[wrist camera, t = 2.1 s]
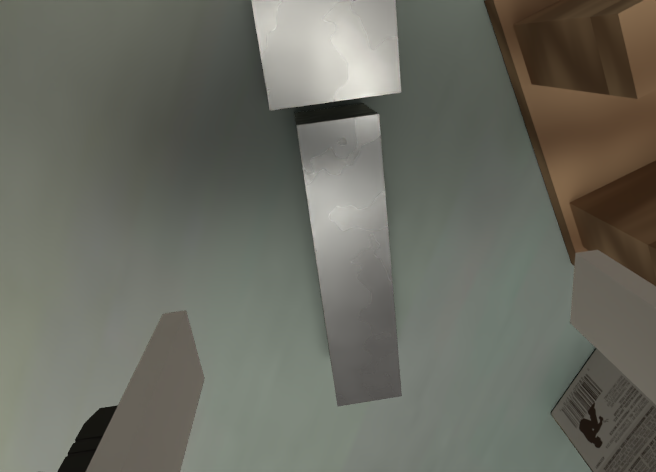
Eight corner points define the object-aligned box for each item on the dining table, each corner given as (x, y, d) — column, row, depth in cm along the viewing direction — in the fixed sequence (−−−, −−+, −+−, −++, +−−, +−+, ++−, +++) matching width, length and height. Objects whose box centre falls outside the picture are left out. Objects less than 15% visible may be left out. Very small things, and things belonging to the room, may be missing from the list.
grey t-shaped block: (255, -1, 22) (249, -12, 18) (372, -16, 22) (393, -31, 18) (314, 358, 29) (319, 409, 25) (400, 344, 30) (419, 392, 25)
